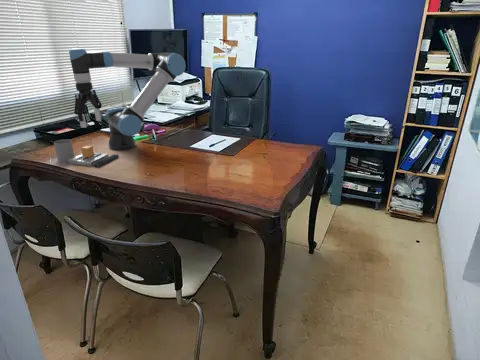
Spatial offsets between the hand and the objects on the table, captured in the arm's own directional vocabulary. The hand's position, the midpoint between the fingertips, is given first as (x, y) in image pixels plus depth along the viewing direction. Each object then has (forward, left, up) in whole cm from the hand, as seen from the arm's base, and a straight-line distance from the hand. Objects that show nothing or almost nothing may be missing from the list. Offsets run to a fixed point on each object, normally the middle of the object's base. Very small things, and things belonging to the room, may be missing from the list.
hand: (91, 124), depth 178 cm
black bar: (+3, +8, -19) cm, 21 cm away
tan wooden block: (+4, -2, -17) cm, 17 cm away
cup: (+7, -14, -19) cm, 25 cm away
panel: (+4, -2, -19) cm, 19 cm away
